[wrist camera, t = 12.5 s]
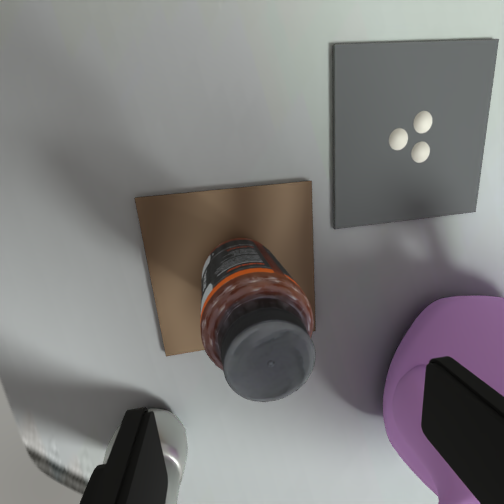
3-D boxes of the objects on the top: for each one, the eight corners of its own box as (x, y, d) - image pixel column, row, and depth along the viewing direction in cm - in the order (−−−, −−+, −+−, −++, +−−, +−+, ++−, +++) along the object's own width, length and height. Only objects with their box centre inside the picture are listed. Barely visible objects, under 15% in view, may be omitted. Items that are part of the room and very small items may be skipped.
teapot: (559, 264, 28) (928, 356, 14) (474, 433, 33) (683, 633, 18) (360, 215, 23) (608, 279, 9) (293, 421, 28) (386, 680, 14)
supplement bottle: (185, 271, 22) (164, 365, 11) (243, 220, 21) (281, 266, 11) (235, 320, 23) (260, 444, 13) (290, 274, 23) (363, 360, 12)
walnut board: (309, 180, 22) (311, 180, 21) (313, 328, 25) (315, 330, 25) (136, 197, 20) (134, 197, 20) (166, 352, 24) (166, 356, 23)
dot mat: (494, 40, 21) (499, 39, 21) (472, 211, 25) (475, 211, 25) (332, 46, 20) (334, 44, 19) (333, 228, 23) (335, 228, 23)
